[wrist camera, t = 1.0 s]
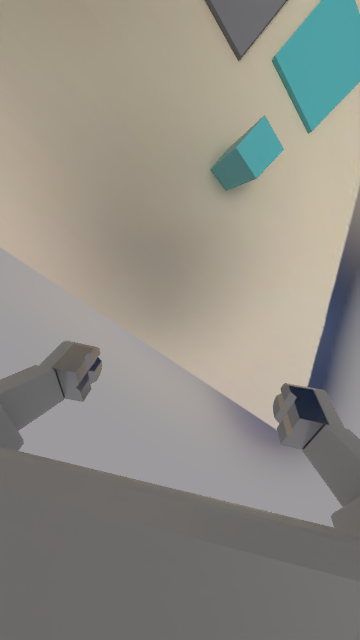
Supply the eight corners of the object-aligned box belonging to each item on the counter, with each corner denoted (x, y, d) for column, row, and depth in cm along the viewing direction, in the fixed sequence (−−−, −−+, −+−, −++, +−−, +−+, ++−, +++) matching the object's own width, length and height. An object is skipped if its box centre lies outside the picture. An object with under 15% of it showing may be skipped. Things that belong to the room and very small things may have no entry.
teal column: (210, 169, 38) (236, 147, 26) (229, 147, 37) (264, 115, 25) (225, 190, 40) (256, 178, 28) (244, 170, 39) (284, 149, 27)
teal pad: (271, 60, 33) (275, 55, 32) (339, -21, 30) (345, -29, 29) (308, 133, 37) (311, 130, 36) (370, 68, 34) (375, 64, 34)
